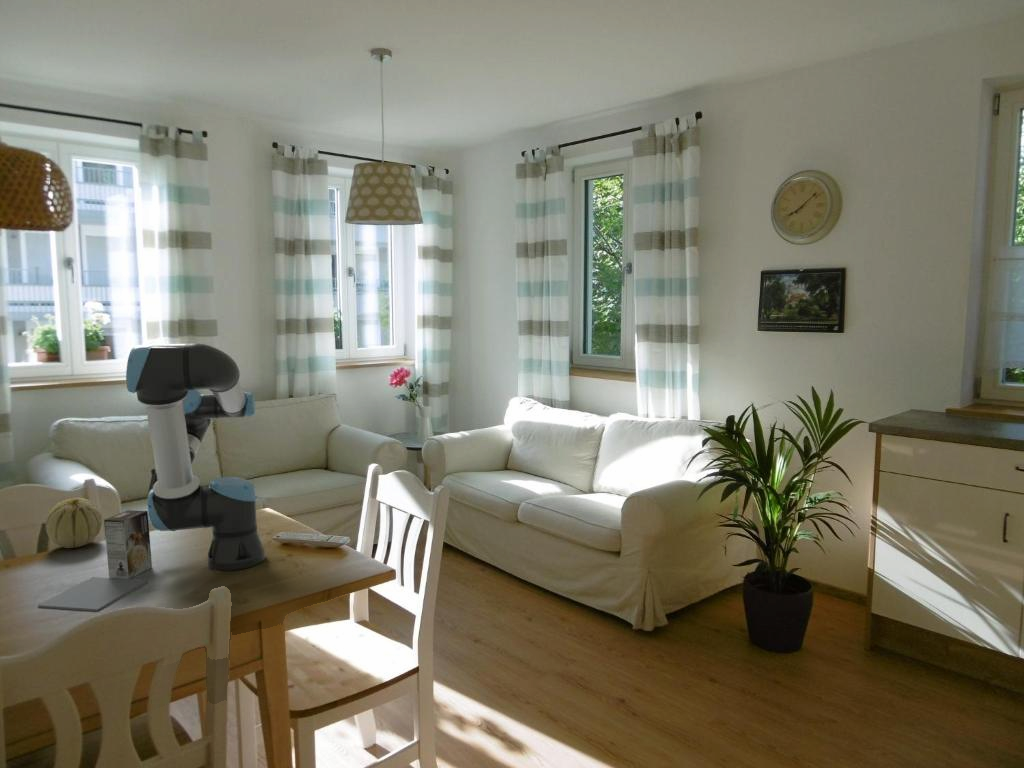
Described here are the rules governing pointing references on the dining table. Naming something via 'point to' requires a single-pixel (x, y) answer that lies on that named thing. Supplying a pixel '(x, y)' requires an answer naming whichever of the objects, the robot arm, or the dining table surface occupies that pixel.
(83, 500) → the cantaloupe
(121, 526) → the coffee box
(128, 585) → the slate mat
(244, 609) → the dining table surface
